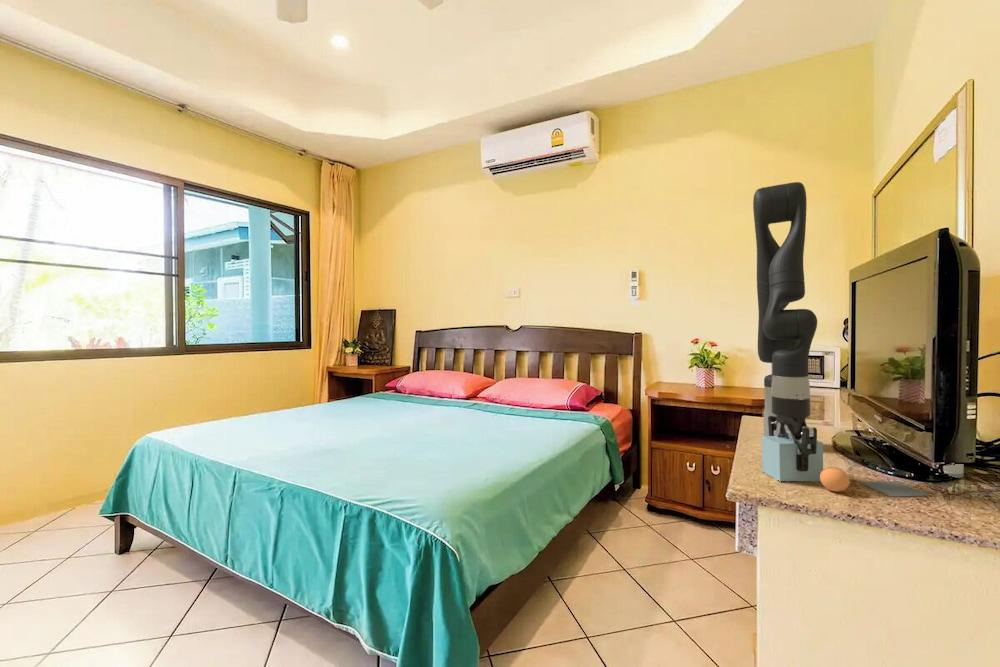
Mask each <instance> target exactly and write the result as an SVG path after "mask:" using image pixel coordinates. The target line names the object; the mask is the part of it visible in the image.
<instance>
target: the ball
mask: <svg viewBox="0 0 1000 667" xmlns="http://www.w3.org/2000/svg"><path fill="white" fill-rule="evenodd" d="M820 480H821V481H820V482H821V484H822V486H824V487H825V489H827V490H829V491H832V492H843V491H845V490H847V488H848V487H849V486H850V478H849V476H848V474H847V472H845V471H844V470H843V469H841V468H838V467H836V466H829V467H825V468H823V471H822V472H821V474H820Z"/></svg>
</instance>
